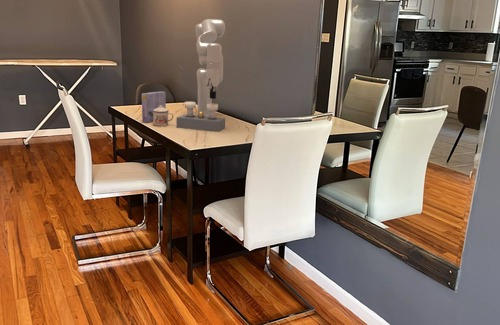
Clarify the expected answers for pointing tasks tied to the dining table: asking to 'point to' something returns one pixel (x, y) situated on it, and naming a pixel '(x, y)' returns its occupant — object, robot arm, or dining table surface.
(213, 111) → the ivory knob
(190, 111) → the ivory knob
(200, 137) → the dining table surface
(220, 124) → the mount
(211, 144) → the dining table surface
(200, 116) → the brass ball
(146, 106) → the cake pan box
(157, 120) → the teacup with lid
